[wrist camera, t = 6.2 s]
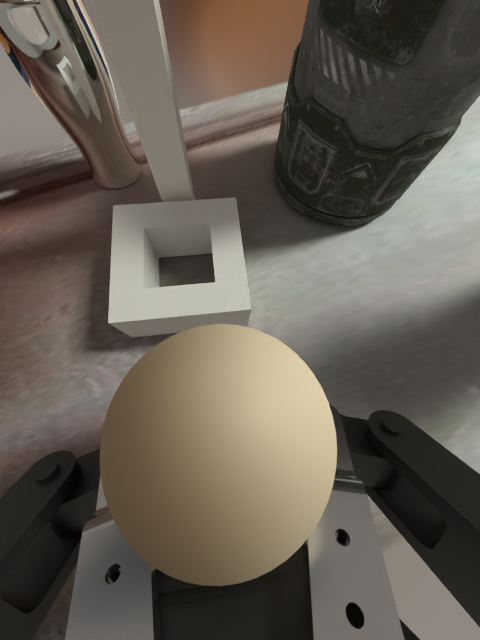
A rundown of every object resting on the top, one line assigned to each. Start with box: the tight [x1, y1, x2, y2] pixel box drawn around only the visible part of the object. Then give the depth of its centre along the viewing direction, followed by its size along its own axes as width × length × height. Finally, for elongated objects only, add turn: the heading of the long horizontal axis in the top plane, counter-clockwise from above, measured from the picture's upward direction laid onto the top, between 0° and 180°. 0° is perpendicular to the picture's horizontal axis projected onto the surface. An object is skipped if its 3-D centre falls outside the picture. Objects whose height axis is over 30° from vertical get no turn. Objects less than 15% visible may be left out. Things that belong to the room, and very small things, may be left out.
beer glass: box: [0, 0, 142, 189], centre depth 23 cm, size 7×7×15 cm
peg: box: [100, 324, 337, 586], centre depth 10 cm, size 4×4×12 cm
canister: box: [274, 0, 480, 226], centre depth 18 cm, size 16×16×28 cm
